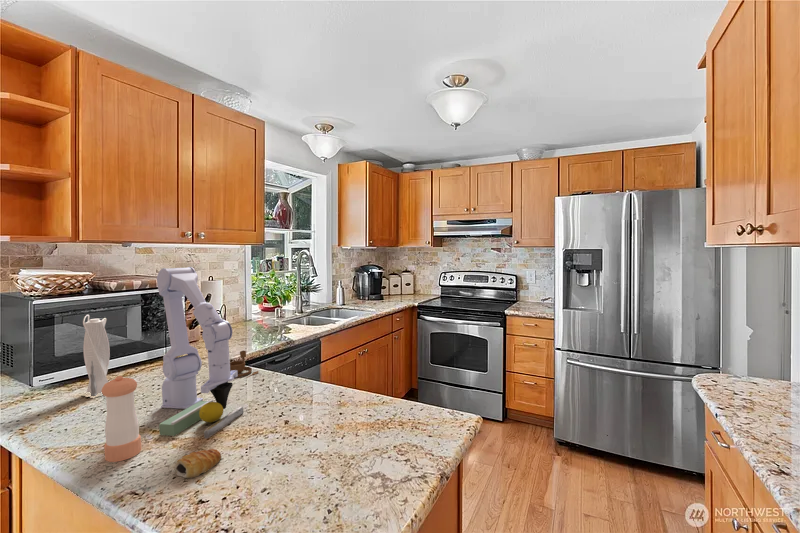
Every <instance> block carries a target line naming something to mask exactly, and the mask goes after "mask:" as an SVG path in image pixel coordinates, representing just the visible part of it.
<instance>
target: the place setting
mask: <svg viewBox="0 0 800 533" xmlns="http://www.w3.org/2000/svg"><path fill="white" fill-rule="evenodd" d="M239 356H240V358H241V360H234V361H230V371H232V370H237V371H238V377H234V379H238V378H242V377H246V376H247V377H246V378H250V377H251V376H254V375H257V374H259V370H257V371H254V372H252V371H253V369H252V367H250V366H246V362H245V361H246V360H245V358H246V356H247V351H246V350H240V351H239ZM244 371H246V372H244ZM242 372H244V373H242Z"/></svg>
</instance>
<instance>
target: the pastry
mask: <svg viewBox="0 0 800 533" xmlns="http://www.w3.org/2000/svg"><path fill="white" fill-rule="evenodd" d="M221 460H222V455H221V452H220V451H219V450H218V449H216V448H215V449H214V448H210V449H207V450H205V449H203V450H198V451H192V452H189V454H186V455H185V454H184V455H182V457H181V458H180V459H177V461H176V463H175V465H174V467H173V472H174V473H175V474H176V475H177V476H178V477H181V478H184V479H194V478H197V477H199V476H200V475H201V474H205V473H207V472H208V471H209V470H211V469H212V468H214V467H215V466H217V465H218V464H219V463H220V461H221Z"/></svg>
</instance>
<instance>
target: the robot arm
mask: <svg viewBox="0 0 800 533" xmlns="http://www.w3.org/2000/svg"><path fill="white" fill-rule="evenodd" d="M198 279H199V276H198V273H197V271H196V270H195V268H194V267H193V266H187V267H170V268H168V267H167V268H165V267H164V268H161V269H160V270H159V271H158V273H157V276H156V284H157V290H158V294H159V296H161V297H163V298H162V299H163V304H164V310H165V318H166V323H167V329H168V330H167V331H168V336H169V342H170V348H169V350H168V351H167V352H166V353H165V354H164V355H163V357H162V360H163V364H162V373H163V375H164V377H165V379H164V380H163V382H162V385H161V395H162V399H161V400H162V405H160V408H162V409H163V408H164V409H180V410H181V409H183V410H185V409H187V408H189V407H190V406H192V405H194V404H196V403H198V402H199V401H204V398H203V397H198V394H197V391H198V390H197V375H198V374H199V372H200V371H201V369H202V363H203V360H202V358H201V356H200V354H199V350H198V349H197V348H196V347H194V346H192V345H191V344H190V341H189V335H188V328H187V327H188V326H187V323H186V316H185V309H184V304H183V296H185V297H186V299H187V300H188V301H189V302H190V304H191V305H192V306H193V308H194V309H193V312H192V313H193V315H194V318H195V319H196V321H197V323H198V324H199V325H200V327H201V329H202V333H201V336H202V339H203V342H204V347H205V349H206V350H207V362H208V377H209V379H208V380H206V381H205V383H204V384H202V385H201V386H200V393H201V394H209V393H211V395H212V396H213V398H214V400H215V402H218V403H220V404H221V405H222V407H223V410H224V409H226V408H227V403H228V399H229V394H230V392H231V390H232V387H233V386H234V385H233V382H232V381H234V380H235V378H234V377H238V371H237V370H232V371H230V362H231V359H230V346H229V343H230V342H229V340H231V339H232V337H233V328H232V325H231V323H230V322H229V321H228V320H225V319H224V318H221V317H220V314H219V313H218V311H217V309H216V308H215V307H214V305H213V303H210V302H207V301H206V299H205V297H204V295H203V293H202V291H201V289H200V287H199V284H198V281H199V280H198Z"/></svg>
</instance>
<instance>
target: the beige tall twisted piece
mask: <svg viewBox="0 0 800 533" xmlns="http://www.w3.org/2000/svg"><path fill="white" fill-rule="evenodd" d="M86 318H87V321H86ZM107 320H108V319H107V318H106V317H104V318H102V319H101V318H91V319H90V314H86V315H85V316H84V317H83V319H82V325H83V328H84V331H85V332H84V338H83V346H82V347H83V349H82V350H83V360H84V364H85V369H86V372H87V375H88V376H87V377H88V379H89V380H88V384H87V391H86V393H87V392H90V393H91V396H96V395H97V394H98V393H101V391H102V388H103V386H104V385H105V384H106V383H108V382H109V380H108V378H107V377H108V376H107V375H108V371H109V365H110V359H111V358H110V356H111V354H110V352H111V350H110V348H111V347H110V341H109V337H108V333H107V330H106V328H105V327H106V323H107Z"/></svg>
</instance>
